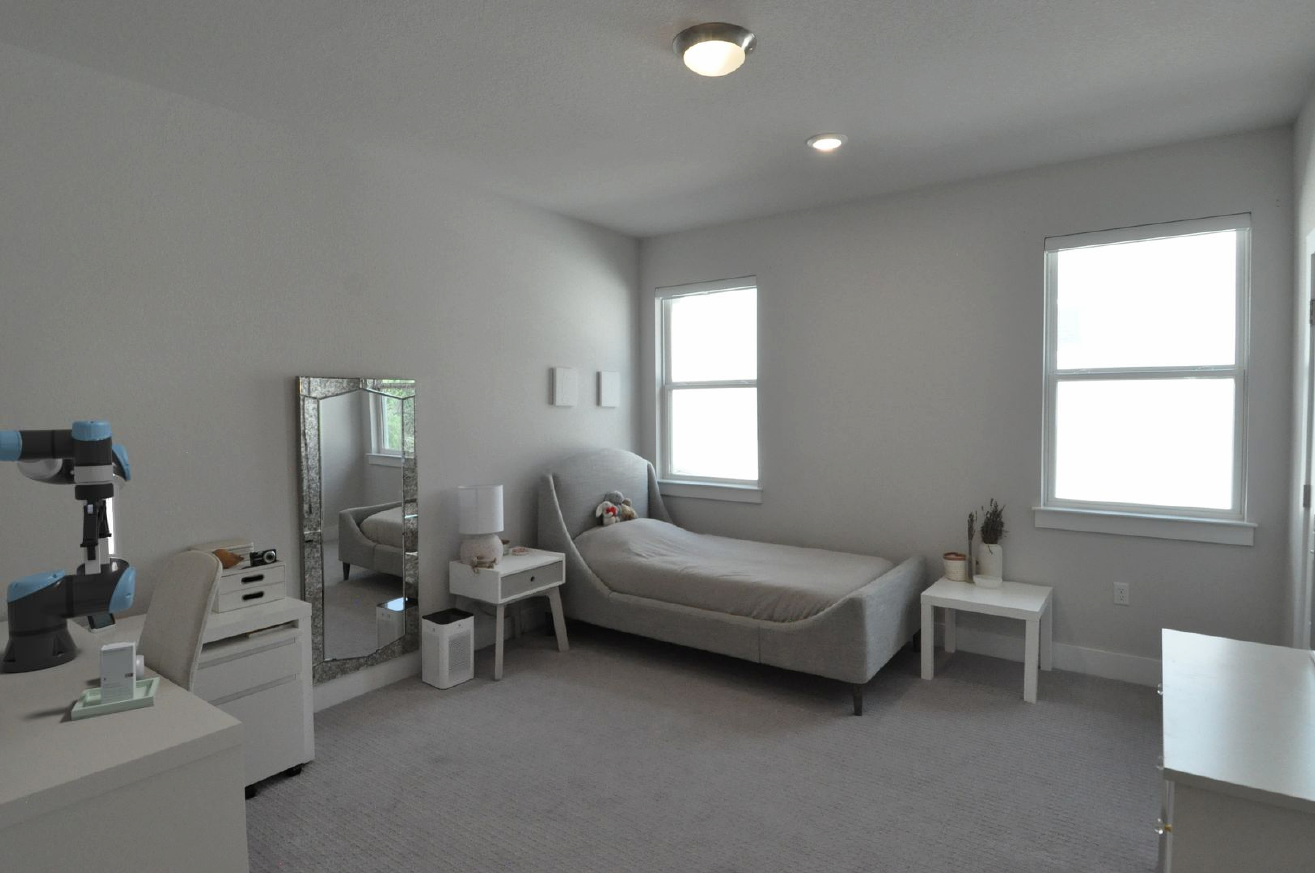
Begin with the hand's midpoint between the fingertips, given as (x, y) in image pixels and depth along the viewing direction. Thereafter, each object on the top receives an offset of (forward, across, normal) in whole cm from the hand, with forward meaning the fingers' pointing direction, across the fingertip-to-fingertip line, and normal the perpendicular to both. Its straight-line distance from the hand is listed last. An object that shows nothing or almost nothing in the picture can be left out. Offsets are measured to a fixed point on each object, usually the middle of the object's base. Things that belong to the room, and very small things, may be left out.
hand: (98, 568), depth 173 cm
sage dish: (+26, +24, +6) cm, 36 cm away
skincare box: (+26, +24, +6) cm, 36 cm away
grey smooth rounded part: (+27, +11, +7) cm, 30 cm away
